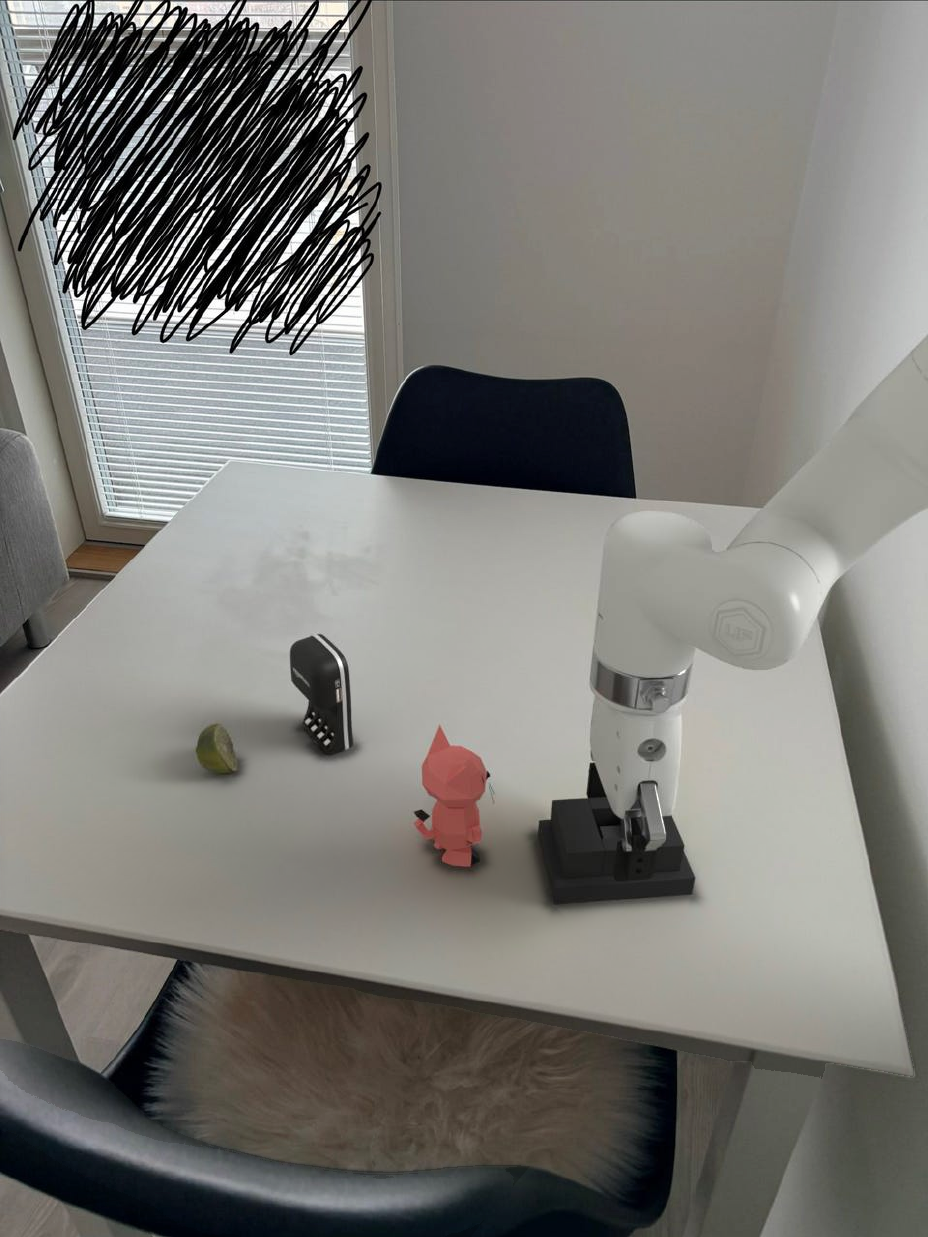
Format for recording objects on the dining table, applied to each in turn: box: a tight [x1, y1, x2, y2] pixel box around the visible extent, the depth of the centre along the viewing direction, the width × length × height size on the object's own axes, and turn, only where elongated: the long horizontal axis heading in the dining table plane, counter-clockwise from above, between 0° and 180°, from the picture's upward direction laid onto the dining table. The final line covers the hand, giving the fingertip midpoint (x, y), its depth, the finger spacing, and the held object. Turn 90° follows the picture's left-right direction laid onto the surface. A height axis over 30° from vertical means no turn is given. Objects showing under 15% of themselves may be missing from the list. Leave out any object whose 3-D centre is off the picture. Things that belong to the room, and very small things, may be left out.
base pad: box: [537, 819, 696, 905], centre depth 77 cm, size 12×8×4 cm, turn 96°
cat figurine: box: [413, 723, 495, 868], centre depth 76 cm, size 7×7×12 cm
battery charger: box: [289, 633, 354, 754], centre depth 89 cm, size 7×4×11 cm, turn 36°
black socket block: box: [549, 797, 686, 879], centre depth 76 cm, size 10×6×3 cm, turn 96°
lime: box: [195, 723, 238, 774], centre depth 86 cm, size 4×5×5 cm
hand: (617, 835), depth 76 cm, fingers open, 9 cm apart
